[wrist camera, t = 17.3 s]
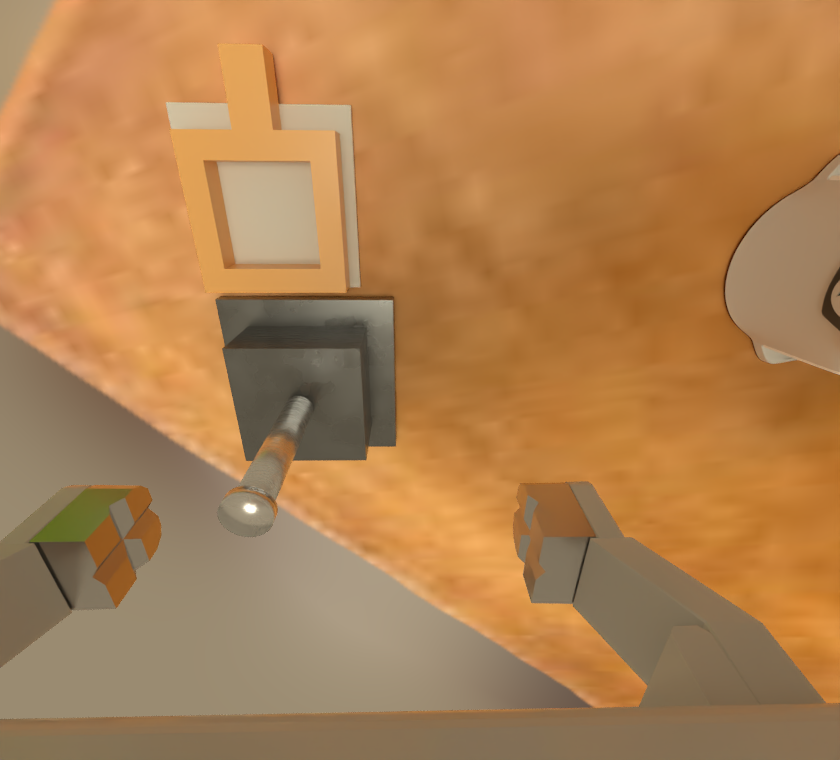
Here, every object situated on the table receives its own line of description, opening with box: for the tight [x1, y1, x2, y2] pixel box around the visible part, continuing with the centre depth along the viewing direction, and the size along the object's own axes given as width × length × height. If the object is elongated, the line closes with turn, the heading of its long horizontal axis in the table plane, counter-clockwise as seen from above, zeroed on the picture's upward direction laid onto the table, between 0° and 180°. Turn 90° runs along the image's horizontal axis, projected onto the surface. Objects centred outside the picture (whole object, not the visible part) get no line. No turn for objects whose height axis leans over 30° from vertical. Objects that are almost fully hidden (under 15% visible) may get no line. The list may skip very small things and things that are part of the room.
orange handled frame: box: [169, 44, 350, 293], centre depth 33 cm, size 12×17×2 cm
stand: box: [215, 296, 396, 537], centre depth 33 cm, size 16×16×20 cm
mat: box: [166, 102, 361, 287], centre depth 35 cm, size 14×14×1 cm
